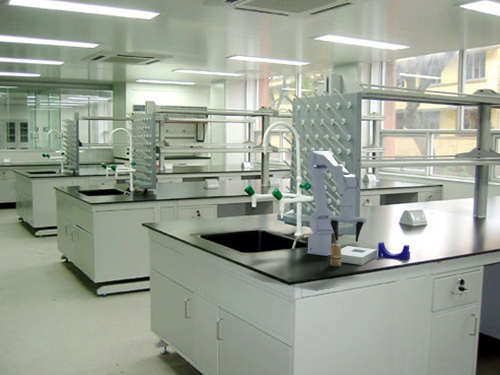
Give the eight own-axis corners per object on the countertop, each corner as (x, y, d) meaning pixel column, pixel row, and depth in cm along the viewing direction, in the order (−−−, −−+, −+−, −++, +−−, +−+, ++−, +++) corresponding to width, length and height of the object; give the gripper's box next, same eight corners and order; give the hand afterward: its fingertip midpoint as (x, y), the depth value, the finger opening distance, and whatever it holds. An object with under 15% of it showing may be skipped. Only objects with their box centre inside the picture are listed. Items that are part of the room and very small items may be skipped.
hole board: (331, 260, 202) (331, 253, 202) (347, 252, 216) (347, 246, 216) (362, 264, 195) (362, 257, 195) (376, 256, 209) (376, 249, 209)
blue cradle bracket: (409, 258, 207) (410, 244, 206) (406, 261, 203) (407, 246, 202) (381, 255, 213) (381, 241, 213) (377, 257, 209) (378, 243, 209)
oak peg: (328, 265, 194) (328, 245, 193) (332, 263, 198) (333, 243, 197) (338, 266, 192) (338, 246, 191) (342, 264, 195) (342, 244, 195)
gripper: (326, 206, 192) (326, 241, 194) (365, 207, 188) (364, 243, 189) (330, 204, 199) (329, 237, 200) (367, 205, 194) (366, 240, 196)
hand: (346, 240), depth 195 cm, fingers open, 7 cm apart
